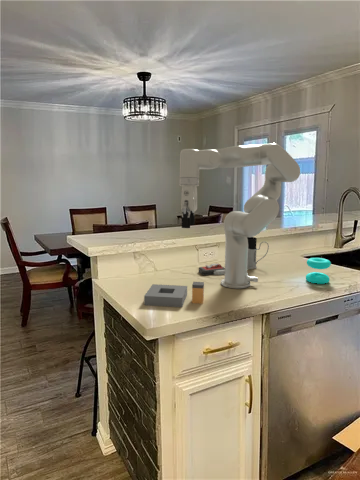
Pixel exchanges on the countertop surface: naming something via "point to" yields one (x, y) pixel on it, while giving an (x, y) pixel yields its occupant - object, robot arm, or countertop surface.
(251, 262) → the grey and black mug
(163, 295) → the socket plate
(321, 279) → the donuts
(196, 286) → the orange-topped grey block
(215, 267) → the walkie-talkie
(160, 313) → the countertop surface
